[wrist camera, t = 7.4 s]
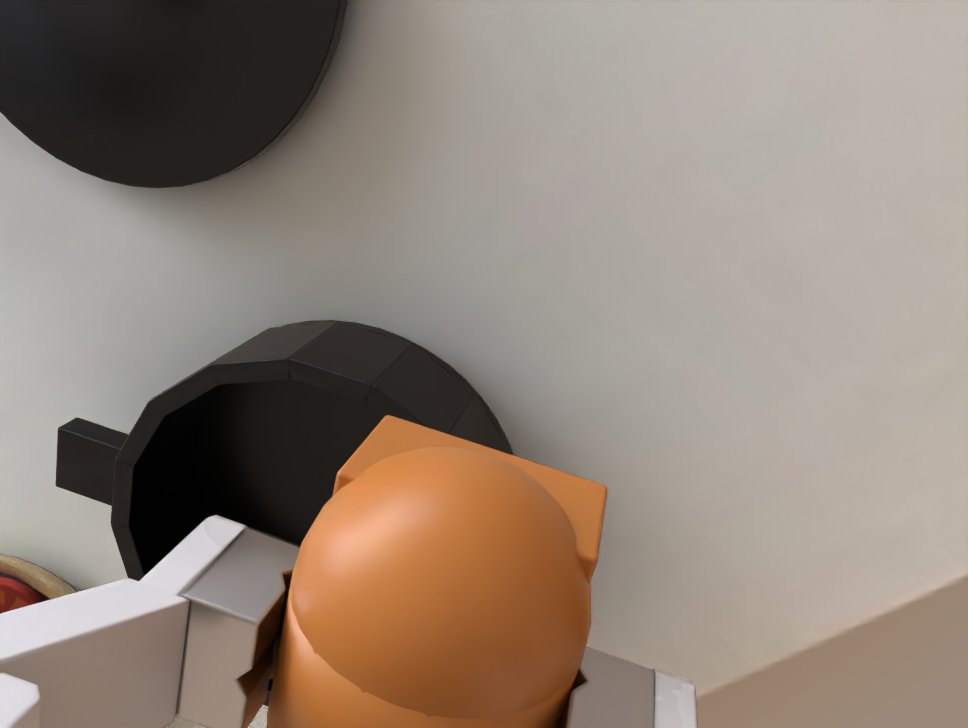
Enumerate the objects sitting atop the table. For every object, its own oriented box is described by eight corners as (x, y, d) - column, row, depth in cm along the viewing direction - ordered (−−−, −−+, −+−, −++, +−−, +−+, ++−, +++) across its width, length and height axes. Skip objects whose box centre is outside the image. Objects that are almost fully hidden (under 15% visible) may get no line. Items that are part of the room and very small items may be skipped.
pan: (137, 252, 28) (46, 281, 24) (644, 409, 26) (641, 470, 22) (114, 554, 33) (36, 620, 29) (539, 707, 31) (520, 802, 27)
